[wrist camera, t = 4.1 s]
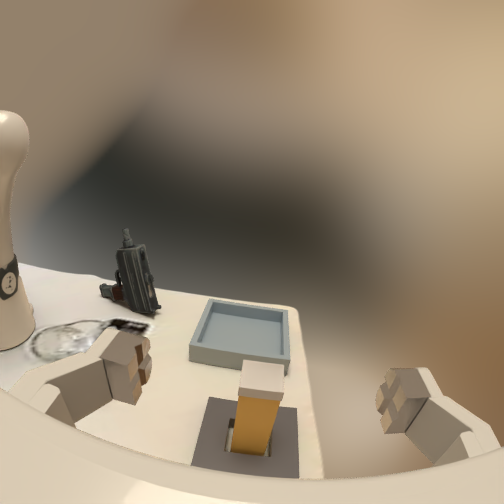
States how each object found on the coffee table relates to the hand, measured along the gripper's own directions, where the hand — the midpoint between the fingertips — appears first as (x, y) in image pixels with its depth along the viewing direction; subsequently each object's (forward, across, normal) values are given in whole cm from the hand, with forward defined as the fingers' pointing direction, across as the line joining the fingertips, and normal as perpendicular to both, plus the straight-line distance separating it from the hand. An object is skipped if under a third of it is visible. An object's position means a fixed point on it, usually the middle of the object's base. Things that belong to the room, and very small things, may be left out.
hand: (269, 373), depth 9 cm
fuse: (+15, +1, -27) cm, 30 cm away
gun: (+42, -27, -27) cm, 57 cm away
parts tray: (+38, -2, -27) cm, 46 cm away
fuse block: (+15, +1, -27) cm, 30 cm away
